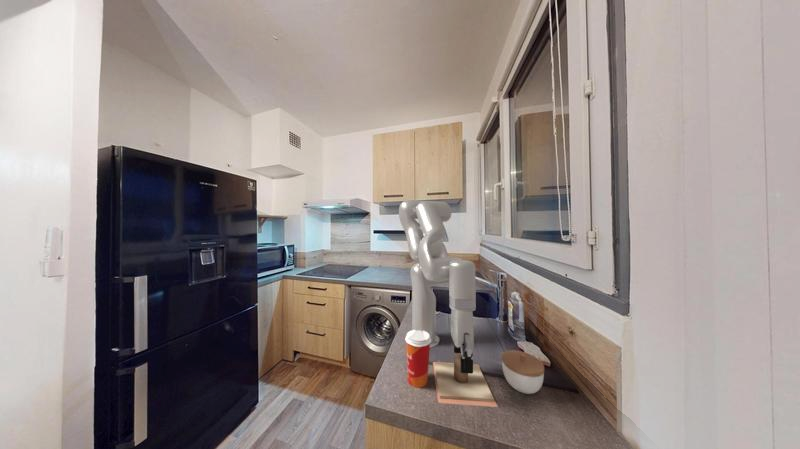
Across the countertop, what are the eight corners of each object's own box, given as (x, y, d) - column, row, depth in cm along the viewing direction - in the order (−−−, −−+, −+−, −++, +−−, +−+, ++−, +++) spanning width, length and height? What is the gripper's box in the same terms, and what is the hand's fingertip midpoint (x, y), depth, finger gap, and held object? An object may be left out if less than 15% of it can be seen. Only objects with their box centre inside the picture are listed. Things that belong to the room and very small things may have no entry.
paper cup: (406, 371, 68) (407, 327, 69) (431, 375, 67) (432, 330, 67) (402, 390, 61) (402, 340, 61) (429, 394, 59) (430, 343, 59)
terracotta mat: (432, 363, 73) (432, 361, 73) (478, 366, 72) (478, 364, 72) (438, 405, 56) (438, 402, 56) (497, 409, 55) (497, 406, 55)
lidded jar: (551, 405, 56) (552, 369, 56) (507, 398, 58) (507, 363, 59) (534, 377, 67) (535, 347, 67) (497, 372, 69) (498, 342, 69)
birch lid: (434, 364, 71) (434, 344, 71) (478, 367, 70) (478, 346, 70) (439, 398, 57) (440, 372, 57) (493, 402, 56) (494, 375, 56)
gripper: (445, 294, 73) (445, 346, 72) (454, 312, 55) (455, 381, 55) (467, 294, 72) (468, 347, 71) (484, 313, 55) (485, 383, 54)
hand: (462, 361), depth 63 cm, fingers open, 9 cm apart
